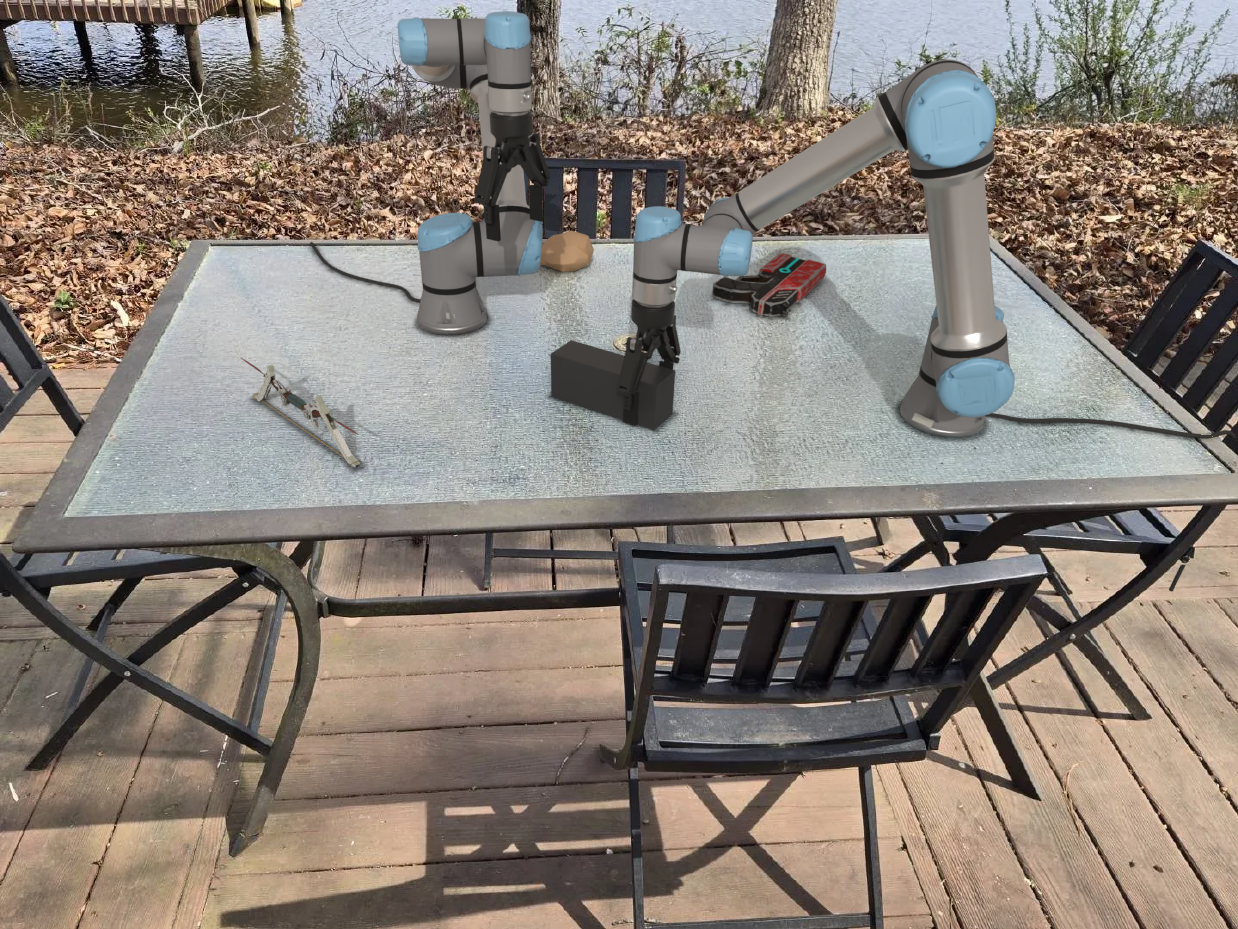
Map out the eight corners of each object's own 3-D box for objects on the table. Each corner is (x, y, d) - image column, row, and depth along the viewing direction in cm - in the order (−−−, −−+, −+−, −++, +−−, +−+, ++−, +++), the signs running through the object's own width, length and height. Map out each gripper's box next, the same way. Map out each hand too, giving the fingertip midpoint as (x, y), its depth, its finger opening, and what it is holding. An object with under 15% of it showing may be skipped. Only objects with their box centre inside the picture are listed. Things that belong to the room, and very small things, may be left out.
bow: (370, 470, 147) (362, 419, 141) (361, 474, 146) (352, 423, 140) (254, 390, 168) (243, 343, 163) (245, 394, 167) (233, 346, 162)
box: (551, 396, 170) (550, 353, 165) (571, 382, 175) (571, 339, 170) (654, 430, 160) (656, 385, 155) (672, 414, 165) (675, 370, 160)
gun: (708, 284, 207) (784, 305, 199) (760, 245, 229) (831, 262, 221) (706, 302, 209) (781, 323, 201) (758, 261, 231) (828, 278, 223)
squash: (595, 275, 222) (590, 243, 216) (517, 282, 224) (510, 251, 218) (596, 253, 230) (591, 222, 224) (521, 260, 232) (514, 229, 225)
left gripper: (483, 127, 144) (490, 252, 155) (567, 101, 162) (568, 215, 173) (448, 121, 147) (457, 244, 159) (534, 96, 165) (537, 208, 177)
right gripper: (637, 330, 141) (632, 443, 153) (704, 282, 158) (695, 386, 170) (597, 319, 144) (595, 430, 156) (667, 273, 161) (661, 376, 173)
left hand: (515, 229), depth 166 cm, fingers open, 13 cm apart
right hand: (647, 407), depth 163 cm, fingers open, 12 cm apart
